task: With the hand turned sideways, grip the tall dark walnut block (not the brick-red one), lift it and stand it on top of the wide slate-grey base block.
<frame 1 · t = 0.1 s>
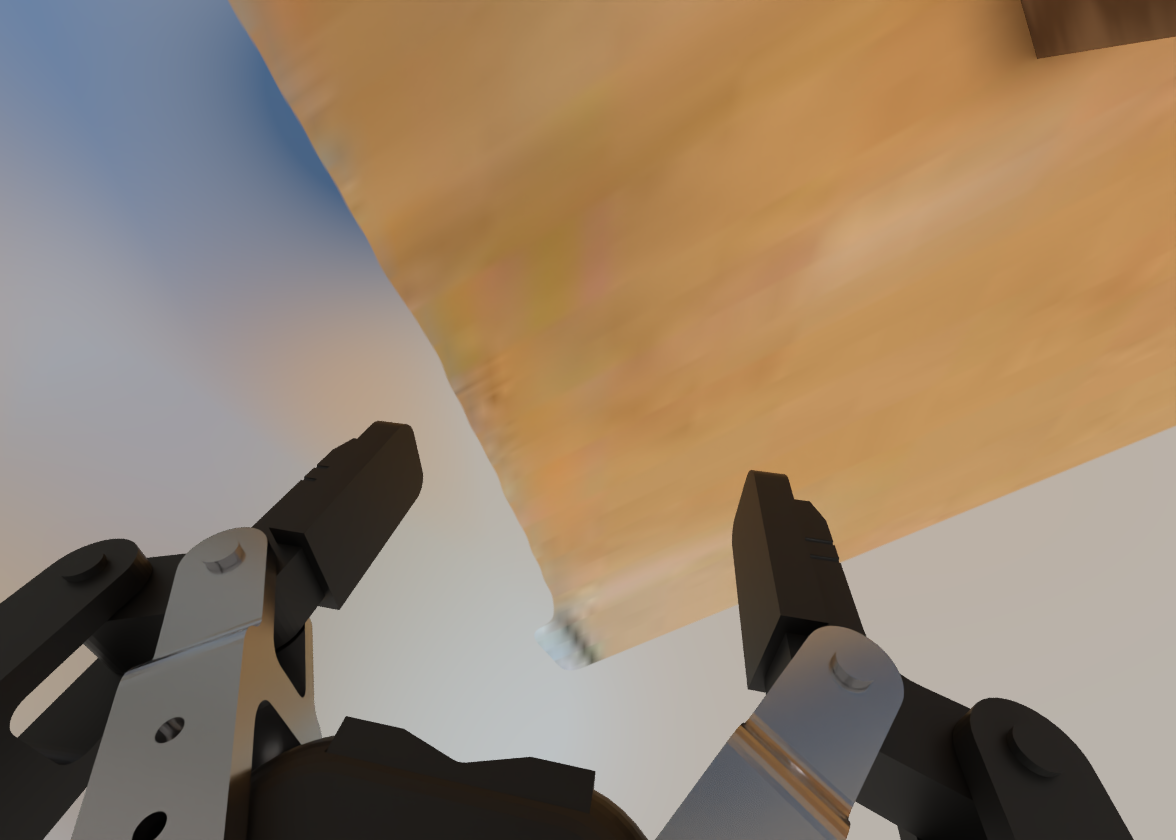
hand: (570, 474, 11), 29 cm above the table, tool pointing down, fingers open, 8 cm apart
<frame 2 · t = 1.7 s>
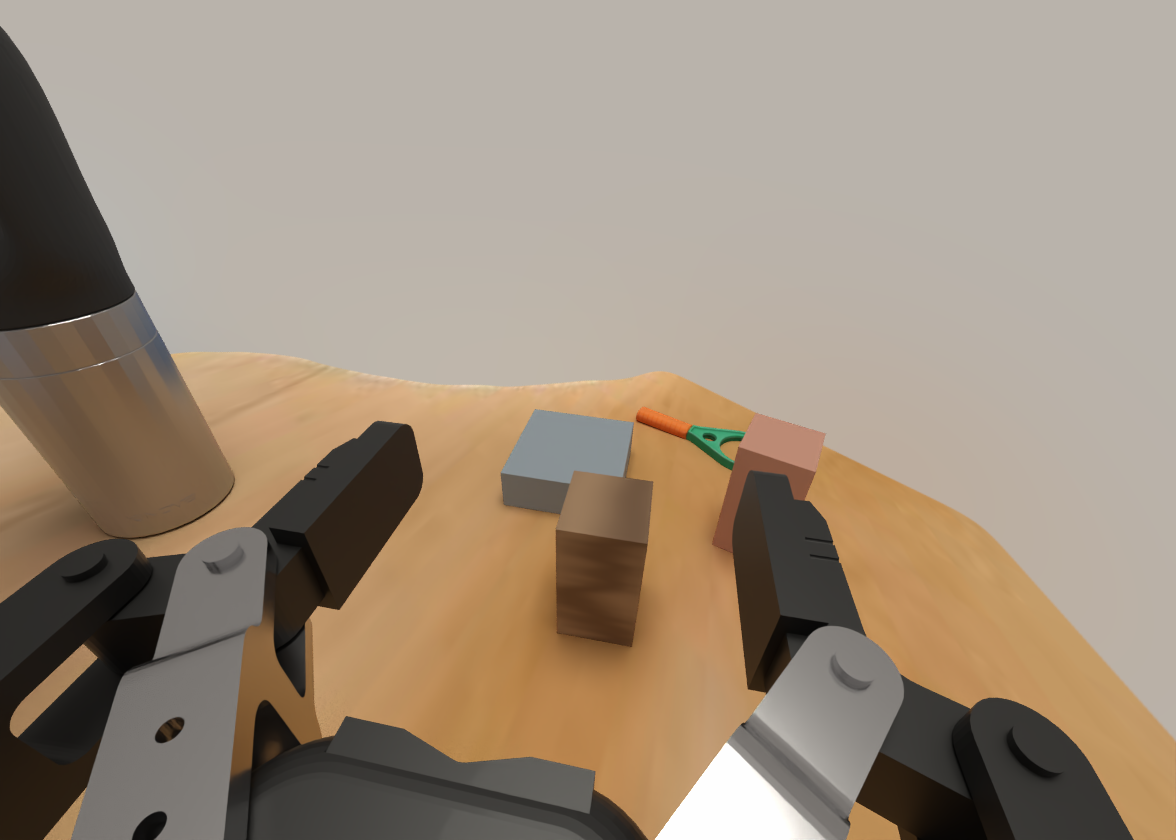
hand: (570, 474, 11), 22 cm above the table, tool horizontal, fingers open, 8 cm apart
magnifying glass: (701, 445, 49), on the table
brick-red block: (750, 536, 38), on the table
slate base block: (572, 479, 44), on the table
walnut block: (599, 606, 32), on the table
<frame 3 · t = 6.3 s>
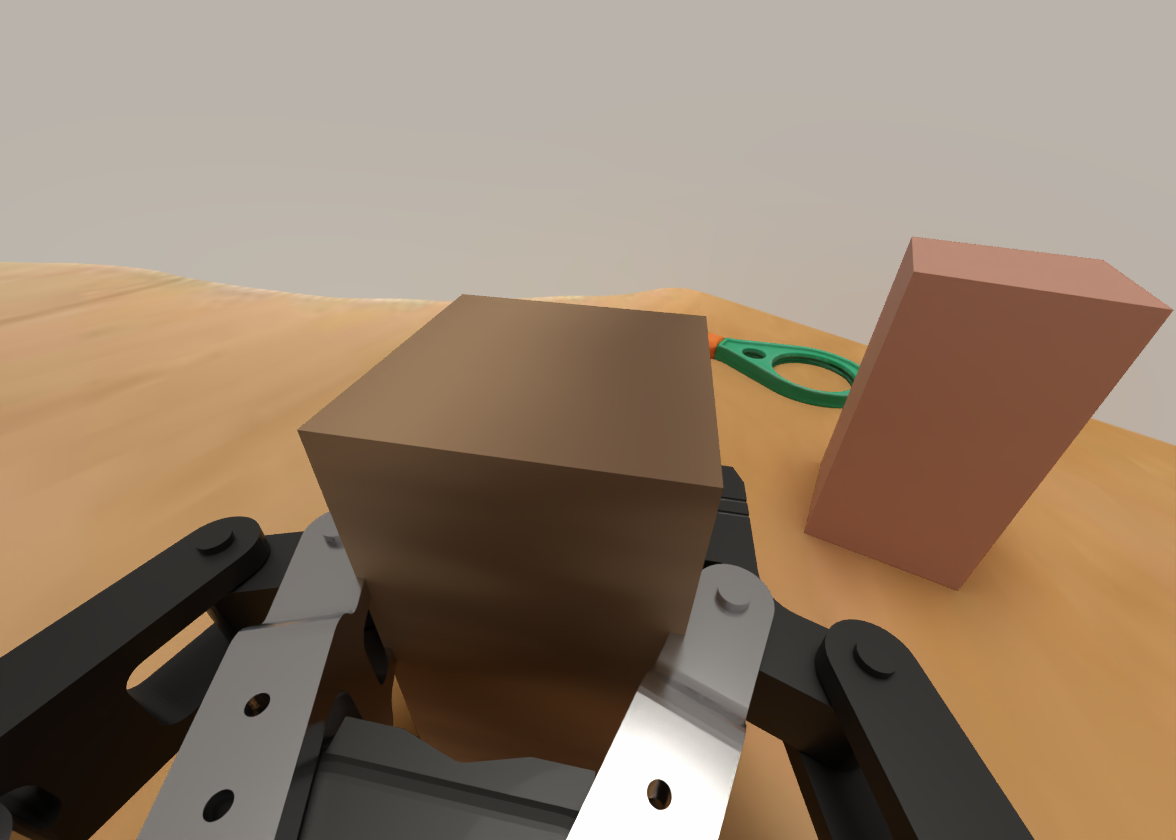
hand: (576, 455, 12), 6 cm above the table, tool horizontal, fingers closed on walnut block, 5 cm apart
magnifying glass: (739, 369, 30), on the table
brick-red block: (879, 516, 19), on the table
walnut block: (556, 682, 13), on the table, touching gripper
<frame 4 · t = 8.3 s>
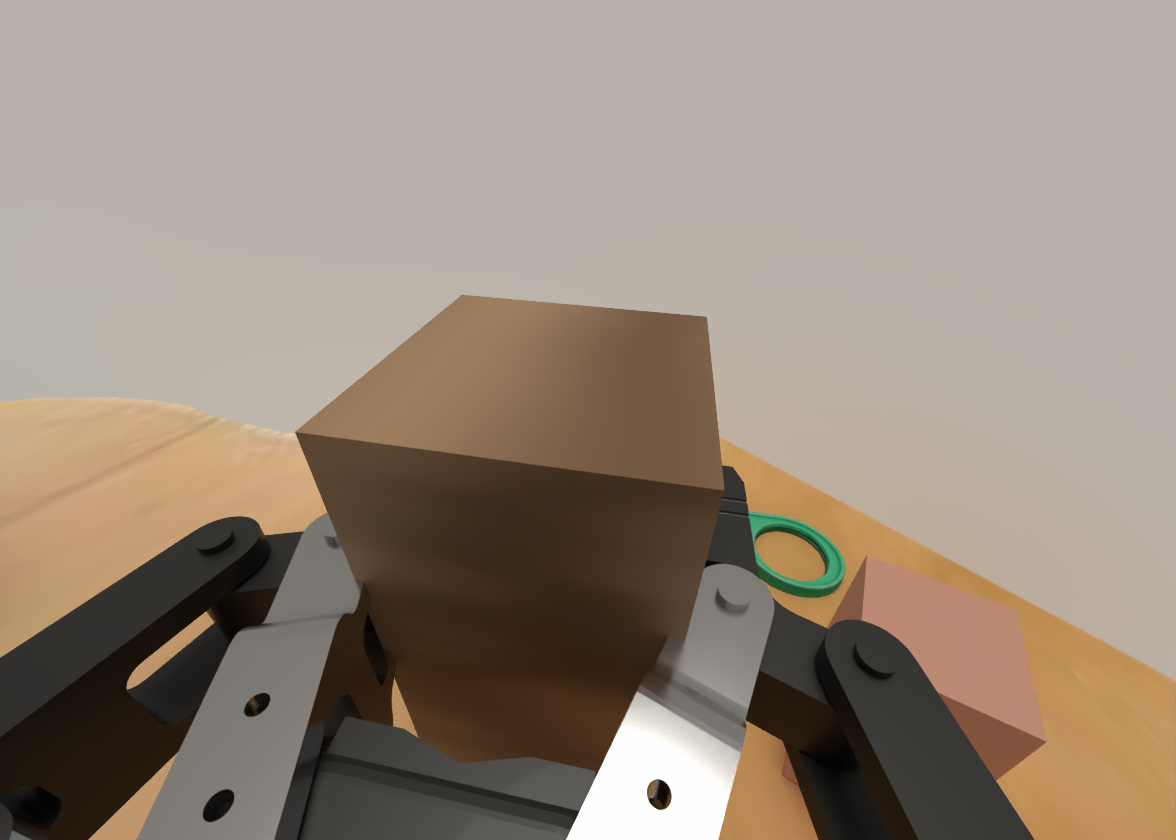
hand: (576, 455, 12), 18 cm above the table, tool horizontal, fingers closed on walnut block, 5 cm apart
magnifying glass: (727, 535, 34), on the table
brick-red block: (846, 752, 22), on the table
walnut block: (556, 684, 13), point 12 cm above the table, touching gripper
when the fingers open (11 cm above the table, at t = 10.5 s): walnut block drops 2 cm, resting on slate base block.
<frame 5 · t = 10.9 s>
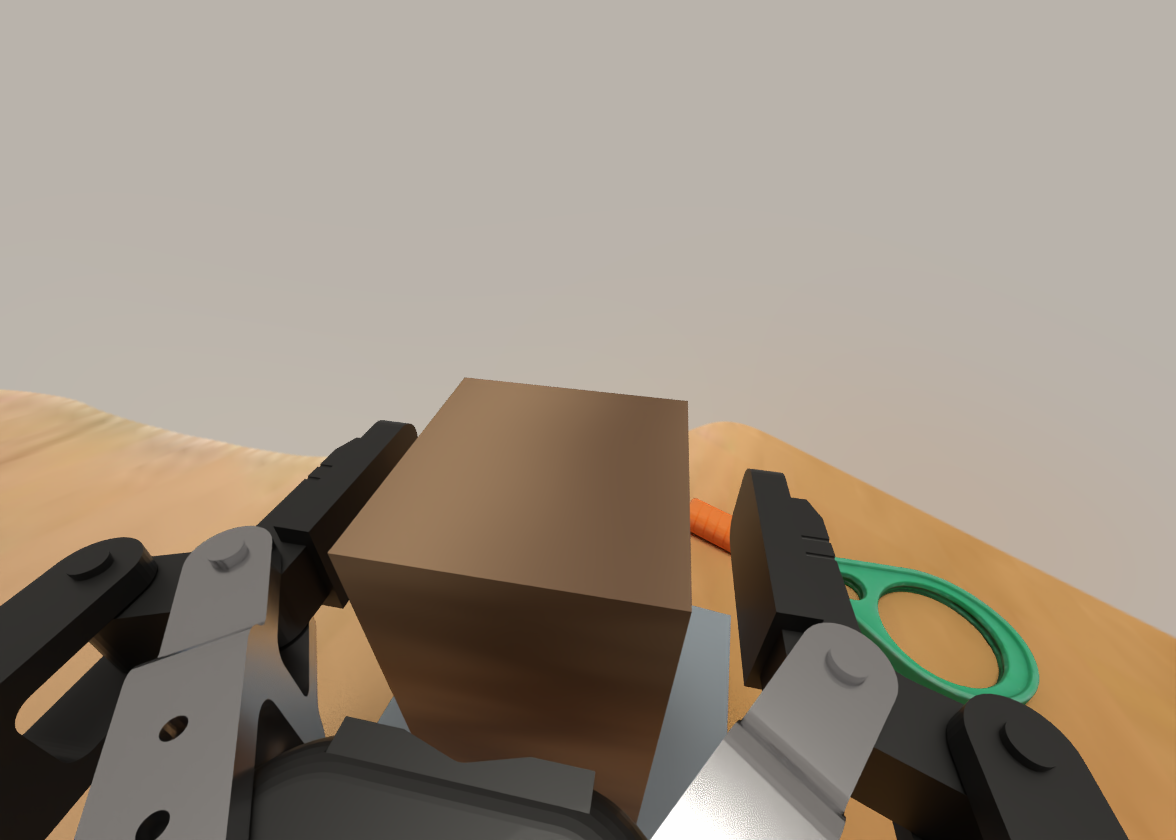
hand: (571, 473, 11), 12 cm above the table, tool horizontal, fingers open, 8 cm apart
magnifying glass: (826, 596, 22), on the table
slate base block: (557, 769, 16), on the table, touching walnut block
walnut block: (555, 716, 14), point 4 cm above the table, touching slate base block
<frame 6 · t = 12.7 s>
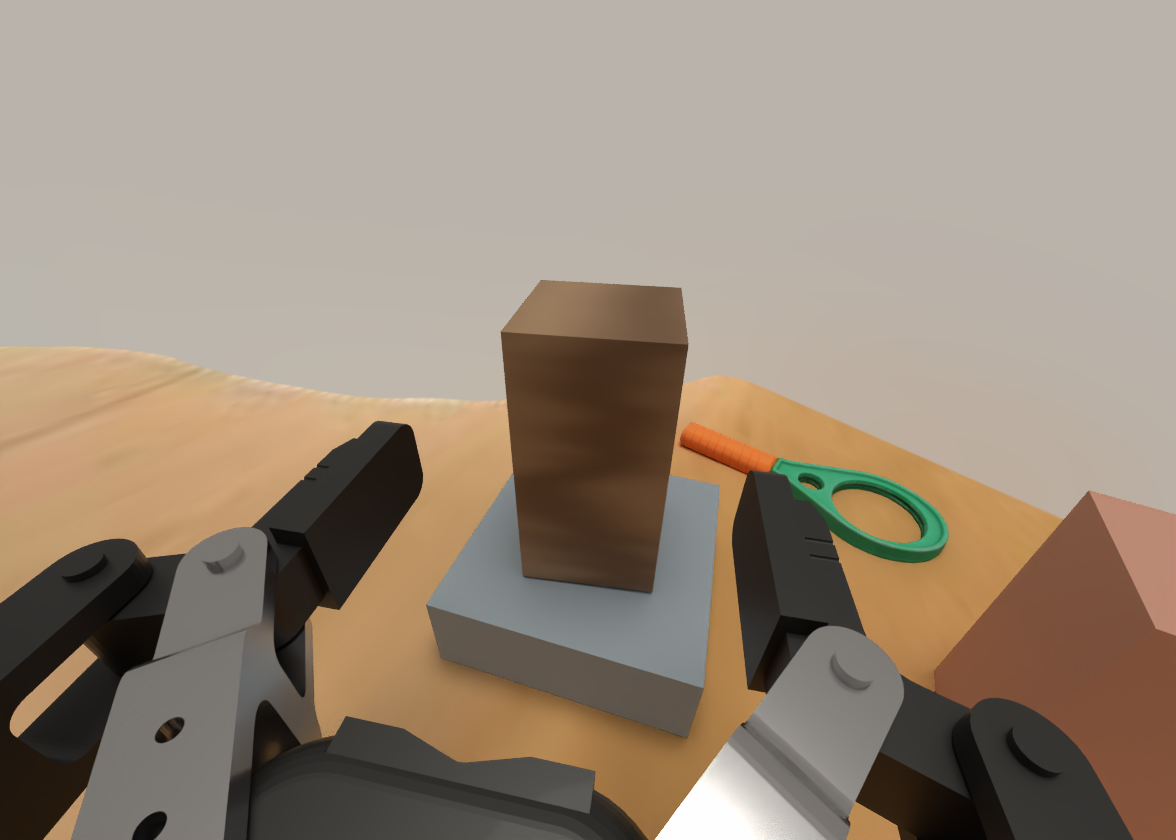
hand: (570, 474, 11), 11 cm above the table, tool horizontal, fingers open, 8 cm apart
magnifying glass: (794, 493, 29), on the table
brick-red block: (1020, 769, 16), on the table
slate base block: (591, 593, 22), on the table, touching walnut block
walnut block: (594, 535, 20), point 4 cm above the table, touching slate base block
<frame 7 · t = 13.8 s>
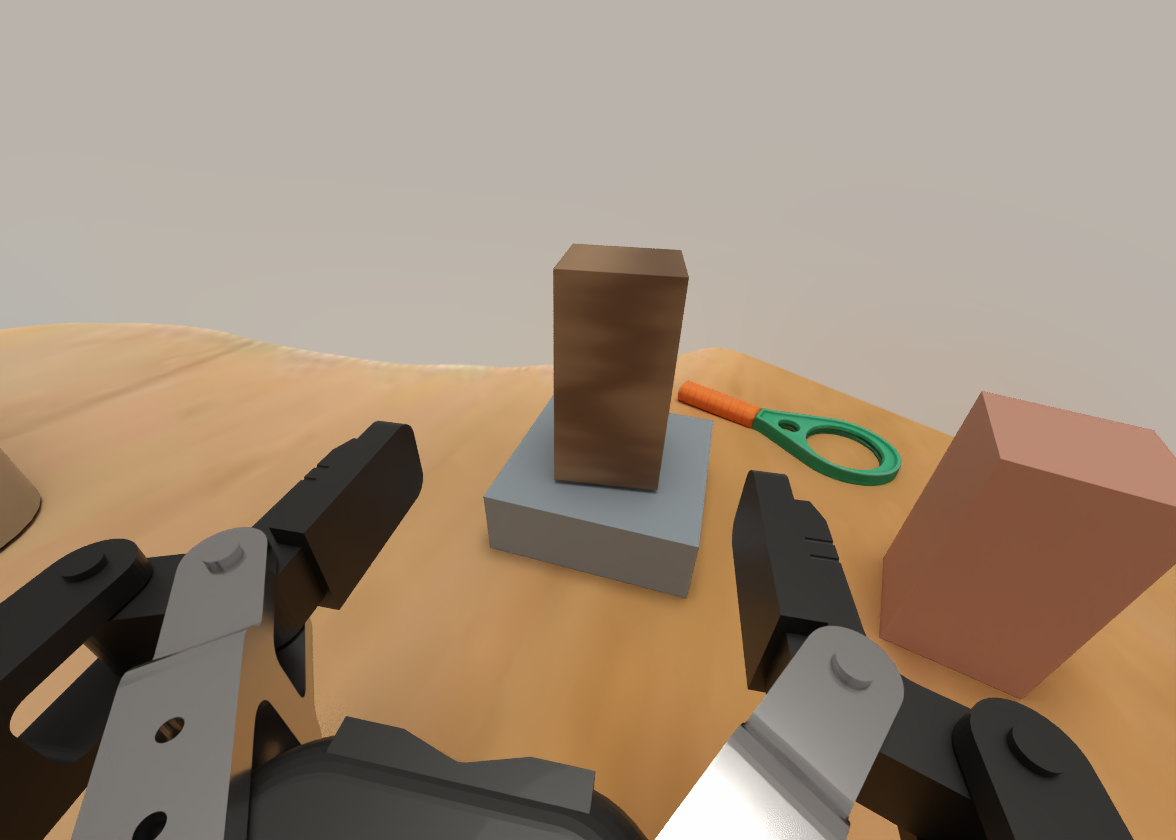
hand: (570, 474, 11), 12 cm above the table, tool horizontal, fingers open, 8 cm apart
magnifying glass: (775, 437, 33), on the table
brick-red block: (943, 619, 21), on the table
slate base block: (608, 508, 27), on the table, touching walnut block
walnut block: (609, 454, 24), point 4 cm above the table, touching slate base block
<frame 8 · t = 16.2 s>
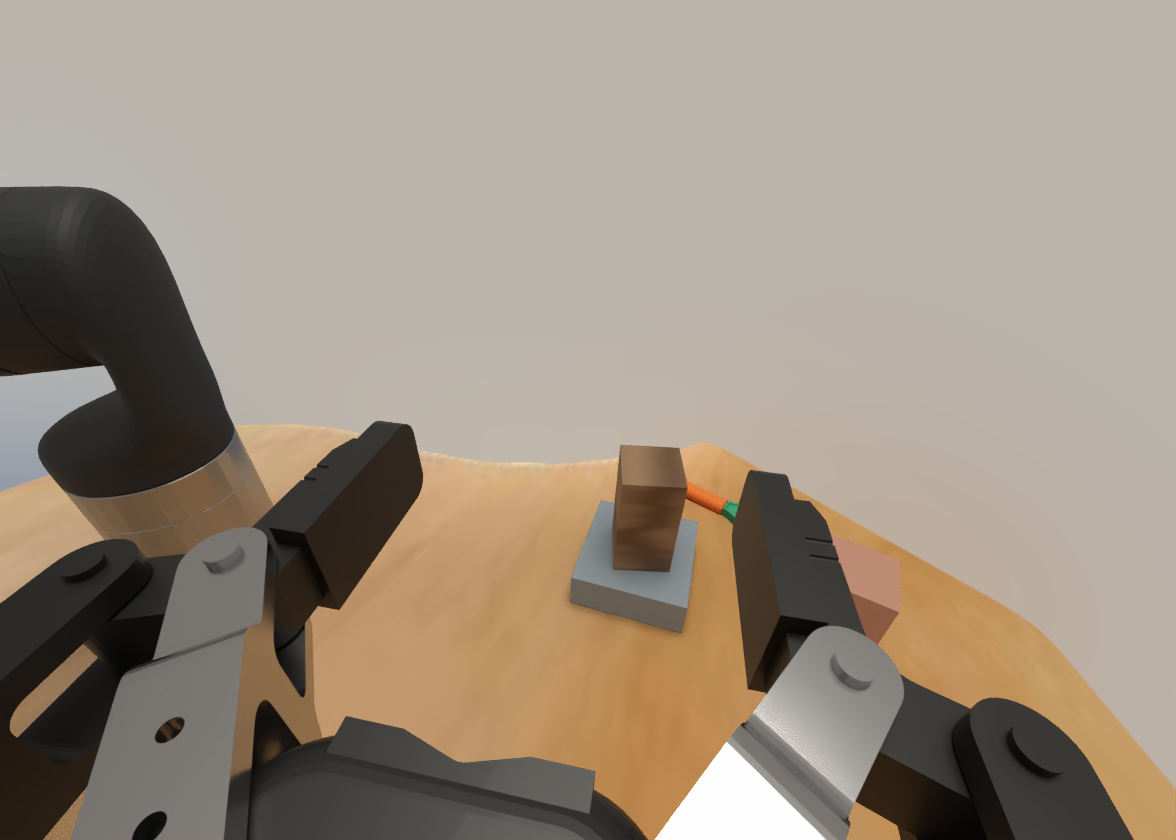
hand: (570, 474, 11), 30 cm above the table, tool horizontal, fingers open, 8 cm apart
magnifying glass: (736, 520, 52), on the table
brick-red block: (818, 645, 39), on the table
slate base block: (635, 575, 45), on the table
walnut block: (639, 548, 43), point 4 cm above the table
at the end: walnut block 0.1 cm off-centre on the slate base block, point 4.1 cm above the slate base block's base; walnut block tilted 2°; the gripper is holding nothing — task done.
